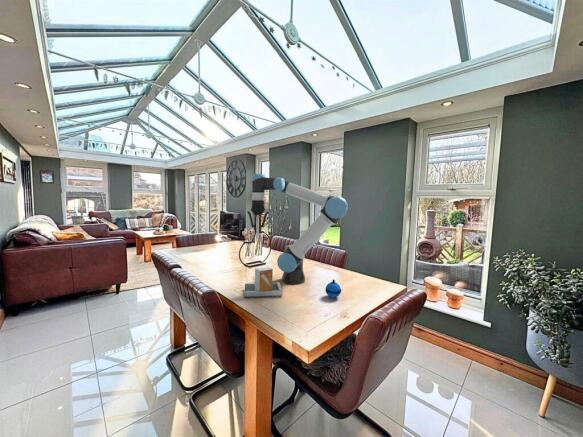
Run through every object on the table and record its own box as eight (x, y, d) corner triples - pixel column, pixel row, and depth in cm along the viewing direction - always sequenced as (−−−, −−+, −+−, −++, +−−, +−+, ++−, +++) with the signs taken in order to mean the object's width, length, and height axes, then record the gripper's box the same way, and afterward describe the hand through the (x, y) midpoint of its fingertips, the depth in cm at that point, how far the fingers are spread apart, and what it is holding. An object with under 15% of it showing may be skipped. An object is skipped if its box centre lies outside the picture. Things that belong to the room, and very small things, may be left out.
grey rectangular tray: (279, 288, 147) (279, 281, 147) (281, 297, 134) (282, 289, 134) (244, 289, 144) (244, 282, 143) (244, 298, 131) (244, 291, 131)
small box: (259, 294, 134) (259, 271, 133) (254, 290, 139) (254, 268, 138) (272, 291, 138) (272, 269, 137) (267, 288, 144) (267, 266, 143)
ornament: (322, 295, 139) (323, 277, 138) (335, 293, 142) (336, 276, 141) (330, 301, 131) (331, 283, 130) (344, 299, 134) (344, 281, 133)
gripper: (268, 200, 154) (267, 237, 157) (247, 199, 152) (246, 237, 154) (269, 200, 147) (268, 239, 149) (247, 199, 145) (246, 239, 147)
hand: (257, 238), depth 152 cm, fingers closed
